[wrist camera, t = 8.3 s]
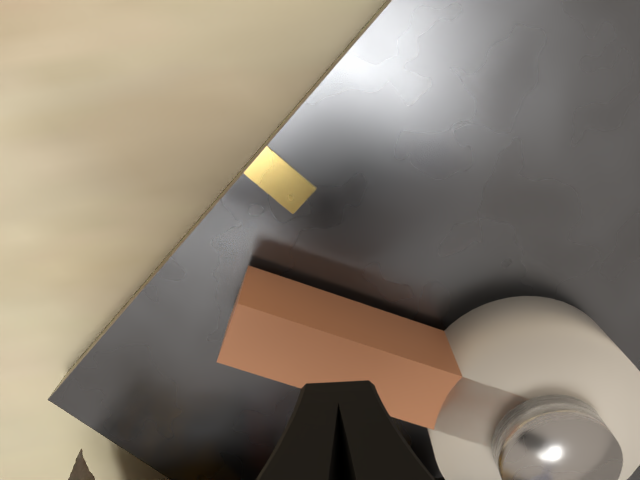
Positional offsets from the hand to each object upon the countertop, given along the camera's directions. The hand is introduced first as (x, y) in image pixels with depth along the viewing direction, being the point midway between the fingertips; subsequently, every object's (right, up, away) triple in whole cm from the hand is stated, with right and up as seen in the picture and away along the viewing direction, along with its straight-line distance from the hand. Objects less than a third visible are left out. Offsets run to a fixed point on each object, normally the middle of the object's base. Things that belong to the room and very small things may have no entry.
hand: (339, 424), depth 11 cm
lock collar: (+3, 0, +6) cm, 7 cm away
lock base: (+6, 0, +9) cm, 10 cm away
